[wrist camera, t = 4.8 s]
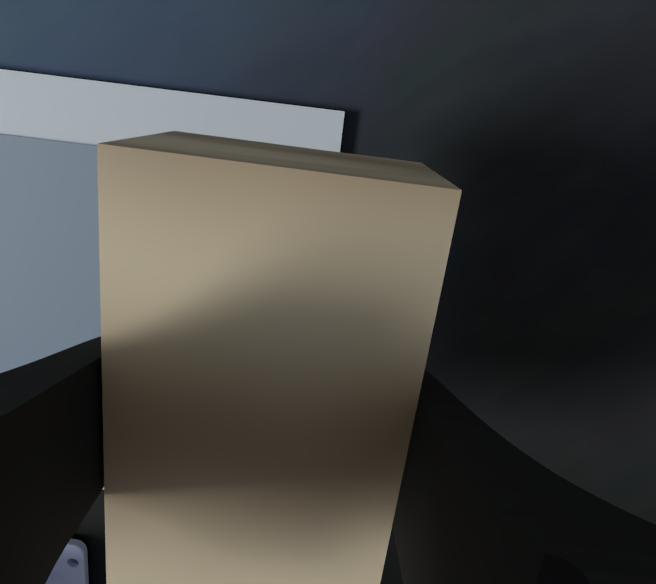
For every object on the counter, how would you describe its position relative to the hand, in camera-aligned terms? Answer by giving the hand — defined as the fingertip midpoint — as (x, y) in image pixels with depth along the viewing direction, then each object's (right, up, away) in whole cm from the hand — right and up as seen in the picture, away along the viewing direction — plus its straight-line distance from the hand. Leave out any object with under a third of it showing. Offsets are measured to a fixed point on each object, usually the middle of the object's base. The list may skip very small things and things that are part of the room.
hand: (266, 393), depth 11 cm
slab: (0, +1, +2) cm, 2 cm away
